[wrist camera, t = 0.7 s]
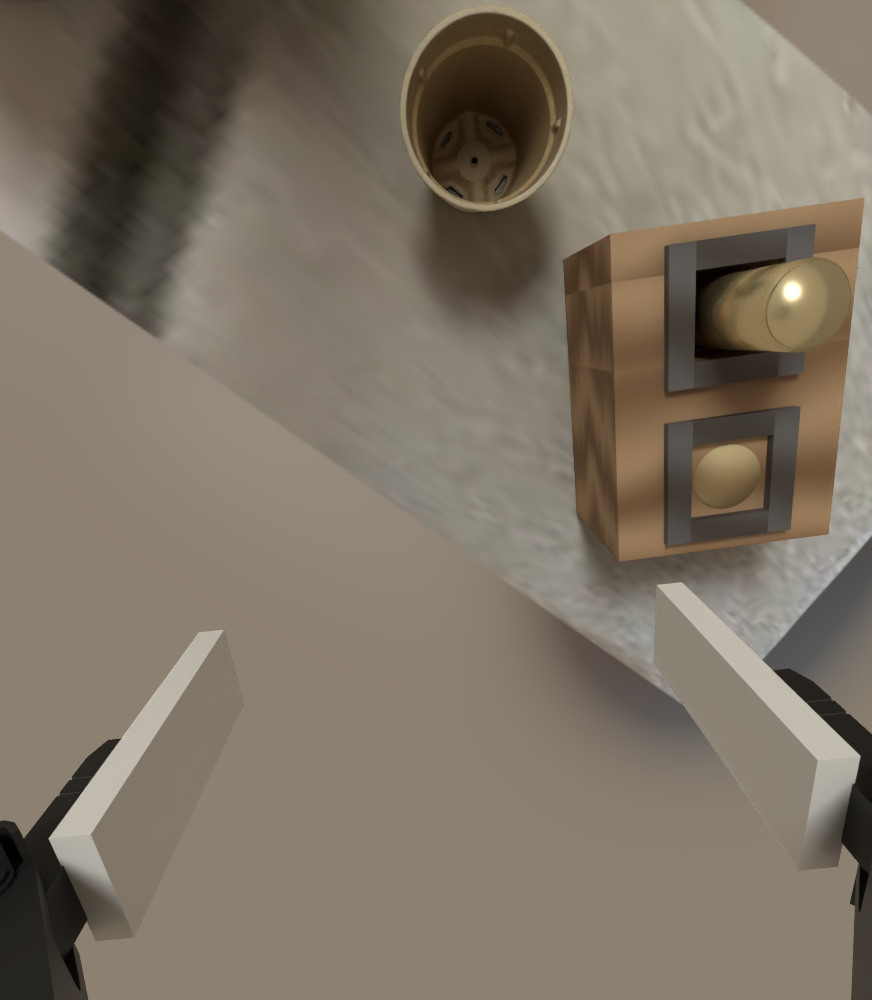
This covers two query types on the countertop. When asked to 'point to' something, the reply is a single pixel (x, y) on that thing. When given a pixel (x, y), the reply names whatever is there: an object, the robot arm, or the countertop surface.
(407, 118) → the flower pot
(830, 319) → the peg
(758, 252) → the socket block
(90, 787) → the robot arm
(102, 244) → the countertop surface
